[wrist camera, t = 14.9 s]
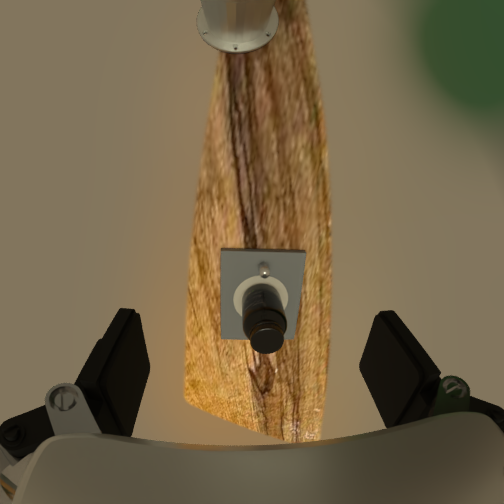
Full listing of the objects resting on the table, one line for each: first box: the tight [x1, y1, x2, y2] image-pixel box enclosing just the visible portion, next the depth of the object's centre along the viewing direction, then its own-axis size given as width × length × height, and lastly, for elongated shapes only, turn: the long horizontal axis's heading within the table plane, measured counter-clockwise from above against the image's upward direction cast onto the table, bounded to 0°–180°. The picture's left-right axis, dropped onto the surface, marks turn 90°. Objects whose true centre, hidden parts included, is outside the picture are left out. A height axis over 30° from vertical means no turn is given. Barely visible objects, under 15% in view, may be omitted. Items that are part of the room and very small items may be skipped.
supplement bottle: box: [242, 284, 287, 354], centre depth 45 cm, size 7×7×12 cm
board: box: [221, 248, 306, 340], centre depth 50 cm, size 18×14×4 cm
